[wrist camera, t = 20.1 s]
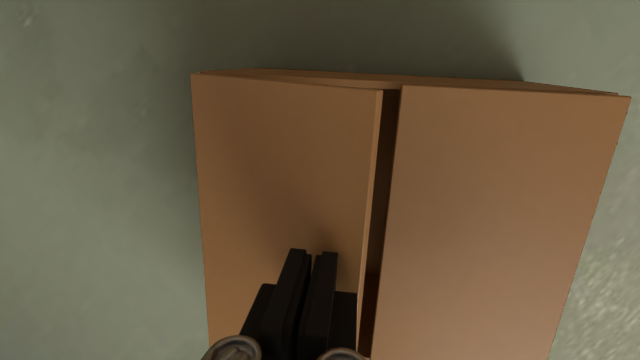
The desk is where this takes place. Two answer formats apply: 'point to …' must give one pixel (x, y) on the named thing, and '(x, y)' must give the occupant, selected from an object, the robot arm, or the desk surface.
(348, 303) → the robot arm
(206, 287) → the flap
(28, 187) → the desk surface
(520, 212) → the carton
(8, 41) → the desk surface
